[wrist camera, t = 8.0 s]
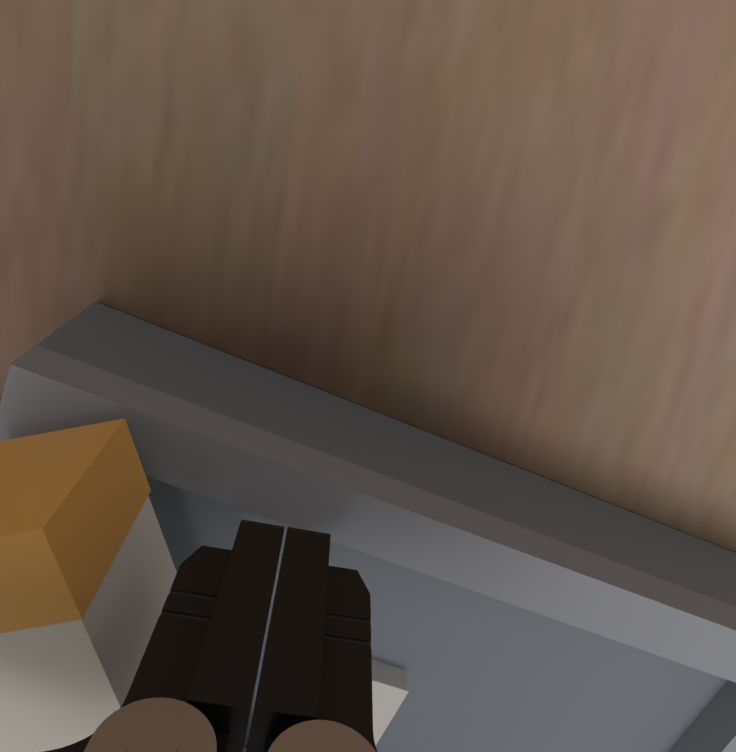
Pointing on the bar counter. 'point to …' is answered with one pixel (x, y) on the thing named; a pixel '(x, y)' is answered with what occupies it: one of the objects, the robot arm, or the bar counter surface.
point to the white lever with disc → (74, 581)
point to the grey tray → (418, 549)
